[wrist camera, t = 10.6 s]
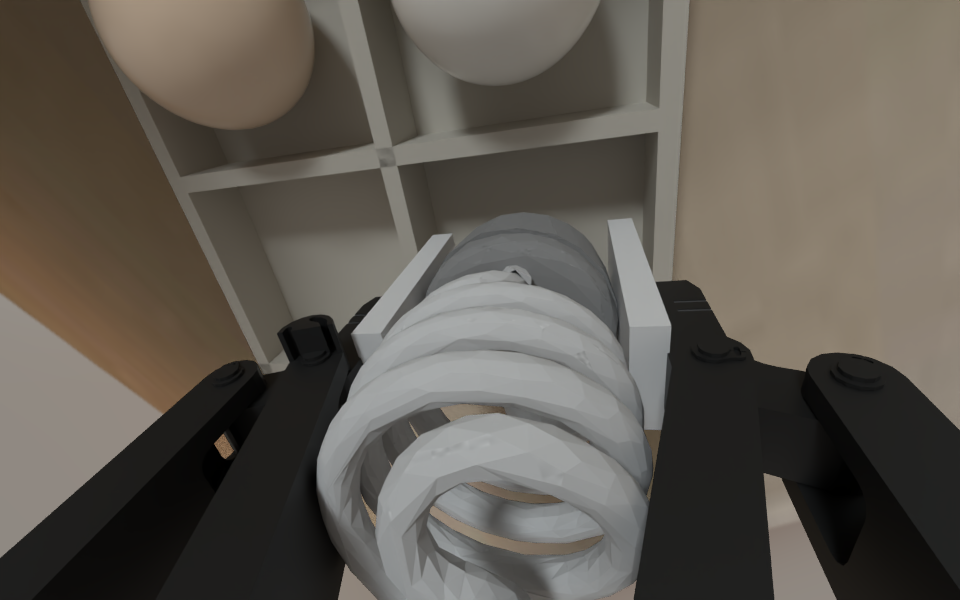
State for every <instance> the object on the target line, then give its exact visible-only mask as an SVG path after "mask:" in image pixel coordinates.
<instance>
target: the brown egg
mask: <svg viewBox="0 0 960 600" xmlns="http://www.w3.org/2000/svg"><path fill="white" fill-rule="evenodd" d="M88 4H89V8H90V12H91V16H92V19H93V21H94V24H95V27H96V29H97V32H98V34H99V36H100V38H101V40H102V42H103V44H104V46H105V48H106V49H107V51H108V53H109V54H110V56H111V57H112V59H113V60H114V62H115V63H116V64H117V66H118V67H119V68H120V69H121V71H122V72H123V73H124V74H125V75H126V76H127V77H128V78H129V80H130V81H131V82H132V83H133V84H134V85H135V86H136V87H138V88H139V89H140V90H141V91H142V92H143V93H144V94H145V95H147V96H148V97H149V98H150V99H152V100H153V101H155V102H156V103H157V104H159V105H160V106H162V107H163V108H165V109H167V110H168V111H170V112H172V113H174V114H176V115H178V116H180V117H182V118H184V119H186V120H189V121H191V122H194V123H197V124H200V125H204V126H208V127H212V128H217V129H227V130H242V129H252V128H256V127H260V126H263V125H266V124H269V123H271V122H273V121H275V120H277V119H279V118H280V117H282V116H283V115H285V114H286V113H287V112H289V111H290V110H291V109H292V108H293V107H294V106H295V105H296V103H297V102H298V101H299V100H300V98H301V97H302V95H303V94H304V92H305V90H306V88H307V86H308V83H309V80H310V77H311V74H312V71H313V65H314V57H315V40H314V33H313V27H312V22H311V18H310V15H309V12H308V9H307V6H306V3H305V1H304V0H88Z"/></svg>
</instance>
